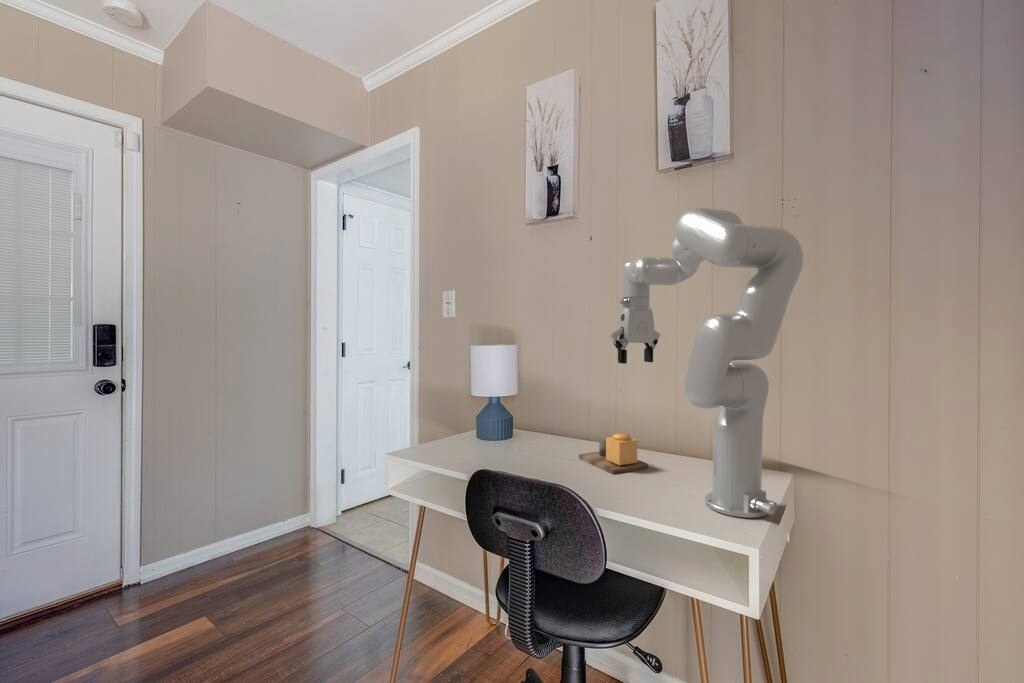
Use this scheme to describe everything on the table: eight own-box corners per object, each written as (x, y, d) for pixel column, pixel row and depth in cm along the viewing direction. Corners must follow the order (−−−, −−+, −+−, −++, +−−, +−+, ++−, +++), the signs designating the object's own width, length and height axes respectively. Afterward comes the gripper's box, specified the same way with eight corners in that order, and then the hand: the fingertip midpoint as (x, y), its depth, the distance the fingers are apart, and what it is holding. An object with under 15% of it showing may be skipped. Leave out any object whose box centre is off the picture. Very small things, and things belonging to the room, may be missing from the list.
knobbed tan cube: (637, 462, 128) (637, 436, 127) (619, 465, 125) (619, 438, 125) (623, 456, 133) (623, 431, 133) (605, 459, 131) (606, 433, 130)
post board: (648, 468, 128) (648, 443, 128) (612, 474, 123) (612, 449, 123) (612, 453, 143) (612, 431, 142) (579, 458, 137) (579, 435, 137)
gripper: (620, 303, 129) (620, 364, 129) (668, 304, 136) (667, 362, 137) (603, 304, 135) (603, 362, 136) (650, 305, 143) (649, 360, 143)
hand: (635, 362), depth 136 cm, fingers open, 9 cm apart
